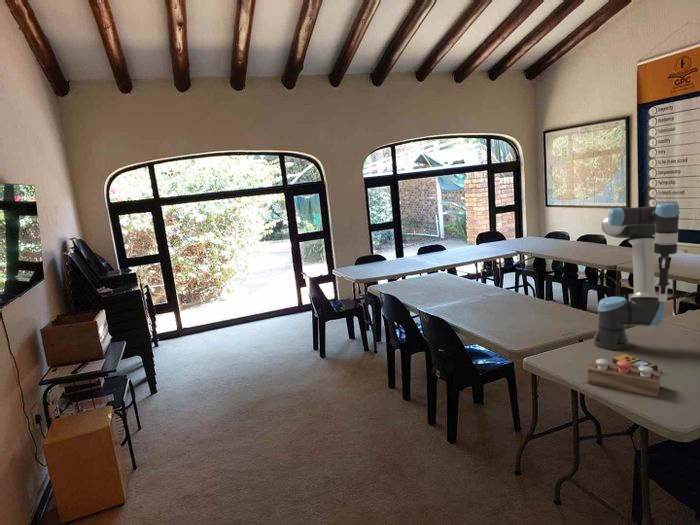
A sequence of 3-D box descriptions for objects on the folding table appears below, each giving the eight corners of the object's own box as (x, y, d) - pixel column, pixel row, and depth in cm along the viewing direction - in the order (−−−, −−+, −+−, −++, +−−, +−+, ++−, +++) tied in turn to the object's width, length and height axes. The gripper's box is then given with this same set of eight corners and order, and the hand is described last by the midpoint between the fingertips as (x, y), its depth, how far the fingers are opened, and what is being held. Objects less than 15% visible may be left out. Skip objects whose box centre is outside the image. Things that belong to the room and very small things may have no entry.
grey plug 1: (596, 374, 194) (597, 358, 192) (609, 377, 191) (610, 360, 189) (594, 379, 190) (595, 362, 188) (607, 381, 187) (608, 364, 185)
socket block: (592, 373, 197) (592, 360, 196) (659, 386, 182) (660, 371, 181) (587, 383, 189) (587, 369, 188) (657, 396, 175) (658, 382, 173)
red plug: (617, 377, 189) (617, 359, 187) (630, 379, 186) (631, 362, 184) (615, 381, 185) (615, 364, 184) (629, 384, 182) (629, 366, 181)
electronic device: (623, 359, 209) (624, 352, 209) (658, 371, 195) (658, 364, 194) (610, 363, 206) (611, 356, 206) (644, 376, 192) (645, 368, 191)
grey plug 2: (638, 382, 184) (639, 365, 183) (652, 385, 181) (653, 367, 180) (637, 387, 181) (637, 369, 179) (651, 390, 178) (652, 372, 176)
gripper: (655, 240, 187) (653, 295, 192) (652, 245, 177) (649, 304, 182) (678, 240, 182) (675, 297, 187) (676, 246, 172) (672, 306, 177)
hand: (662, 300), depth 184 cm, fingers closed
